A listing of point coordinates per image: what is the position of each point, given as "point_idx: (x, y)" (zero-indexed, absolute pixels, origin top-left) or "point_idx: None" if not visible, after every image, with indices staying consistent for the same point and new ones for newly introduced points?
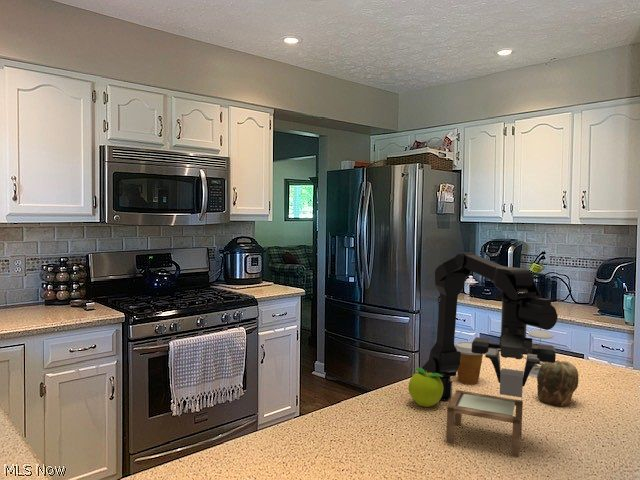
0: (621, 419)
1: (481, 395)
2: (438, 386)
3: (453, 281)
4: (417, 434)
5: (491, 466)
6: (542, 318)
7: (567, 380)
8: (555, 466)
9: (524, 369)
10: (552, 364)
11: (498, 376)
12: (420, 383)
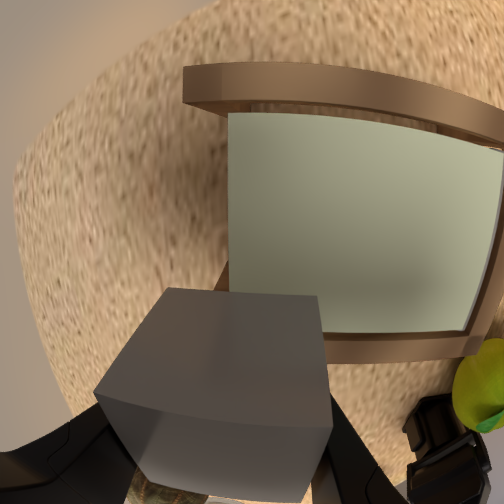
0: (75, 398)
1: (392, 346)
2: (484, 389)
3: None
4: None
5: (305, 5)
6: None
7: (138, 477)
8: (127, 96)
9: (128, 484)
10: None
11: (336, 423)
12: None
